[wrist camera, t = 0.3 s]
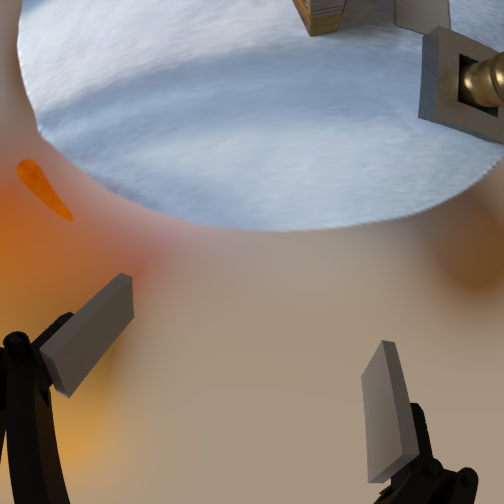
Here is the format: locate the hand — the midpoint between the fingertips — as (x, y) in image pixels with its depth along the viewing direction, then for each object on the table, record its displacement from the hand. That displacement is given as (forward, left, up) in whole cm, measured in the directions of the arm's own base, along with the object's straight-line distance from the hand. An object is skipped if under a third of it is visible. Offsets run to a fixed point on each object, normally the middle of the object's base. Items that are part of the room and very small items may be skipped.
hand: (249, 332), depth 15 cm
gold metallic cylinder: (-20, +22, -28) cm, 40 cm away
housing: (-20, +22, -28) cm, 40 cm away
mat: (-30, +16, -28) cm, 44 cm away
